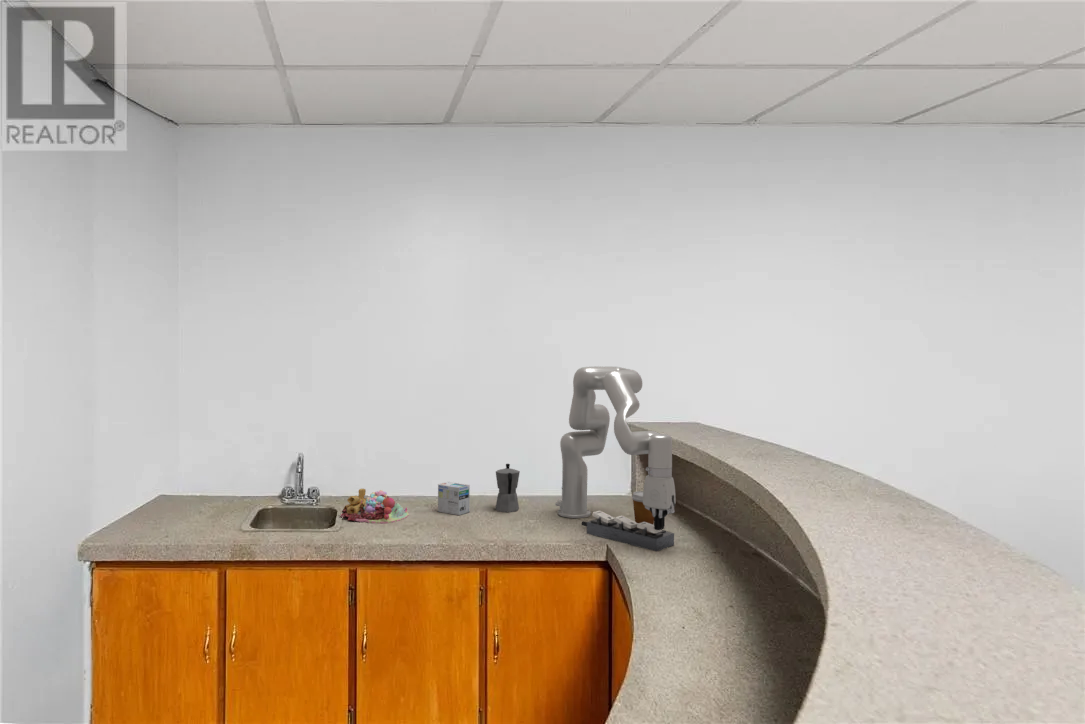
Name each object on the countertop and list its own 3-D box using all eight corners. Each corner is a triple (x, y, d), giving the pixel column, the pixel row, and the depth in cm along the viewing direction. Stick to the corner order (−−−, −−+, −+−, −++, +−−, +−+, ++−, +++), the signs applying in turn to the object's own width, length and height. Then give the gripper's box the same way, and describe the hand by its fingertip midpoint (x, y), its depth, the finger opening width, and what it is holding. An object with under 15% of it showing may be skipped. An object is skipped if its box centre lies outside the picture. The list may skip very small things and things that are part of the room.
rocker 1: (591, 515, 260) (592, 512, 260) (599, 513, 263) (600, 510, 263) (607, 523, 256) (608, 520, 255) (615, 521, 259) (616, 517, 259)
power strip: (573, 530, 265) (573, 513, 265) (591, 525, 272) (592, 508, 272) (656, 551, 241) (656, 532, 241) (673, 545, 248) (674, 527, 248)
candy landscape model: (330, 522, 271) (330, 496, 271) (355, 507, 295) (355, 483, 294) (398, 525, 268) (398, 499, 268) (417, 510, 291) (417, 486, 291)
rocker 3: (636, 527, 247) (636, 523, 247) (644, 525, 250) (644, 521, 250) (654, 533, 242) (654, 529, 242) (661, 531, 246) (662, 527, 246)
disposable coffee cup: (656, 531, 265) (657, 497, 265) (629, 529, 267) (630, 495, 267) (658, 524, 275) (659, 491, 274) (632, 522, 277) (632, 490, 276)
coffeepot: (493, 505, 299) (494, 460, 298) (517, 505, 301) (517, 460, 300) (497, 515, 284) (498, 468, 283) (522, 514, 285) (522, 467, 285)
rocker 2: (613, 520, 254) (614, 517, 253) (621, 518, 257) (622, 515, 257) (629, 529, 249) (630, 525, 249) (637, 526, 252) (638, 523, 252)
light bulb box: (470, 512, 288) (470, 484, 288) (458, 515, 282) (459, 487, 282) (448, 508, 294) (448, 480, 293) (437, 511, 288) (437, 483, 288)
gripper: (634, 471, 245) (633, 527, 246) (673, 477, 235) (672, 535, 236) (647, 468, 251) (646, 523, 251) (686, 474, 241) (685, 531, 241)
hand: (659, 529), depth 244 cm, fingers closed
